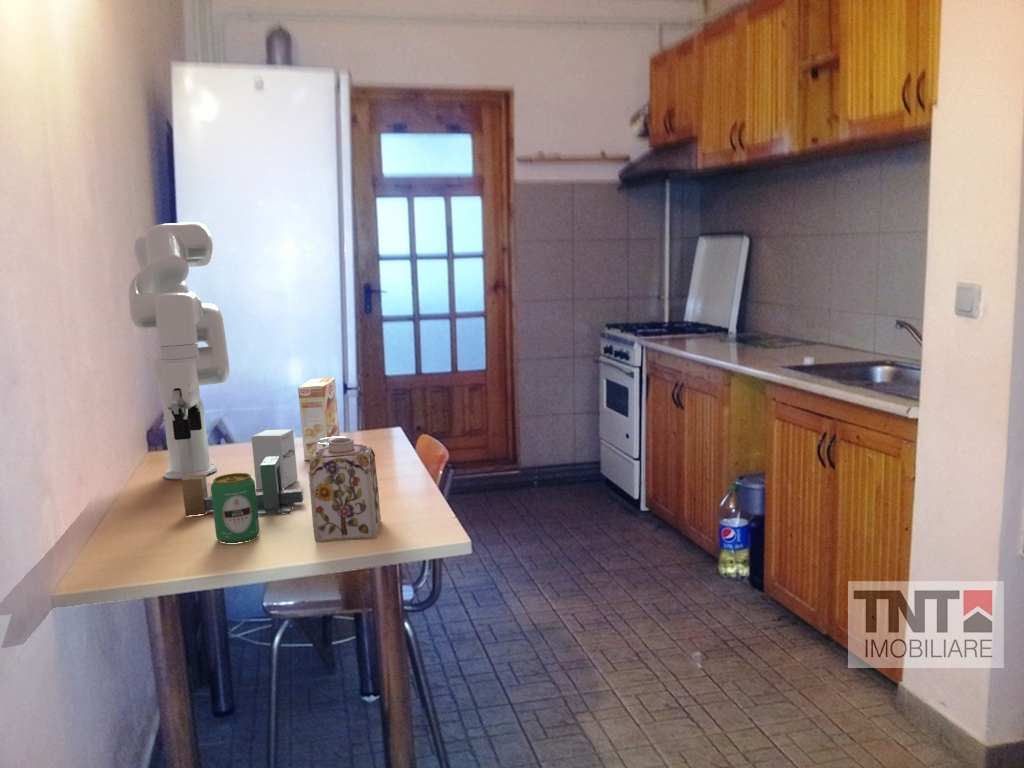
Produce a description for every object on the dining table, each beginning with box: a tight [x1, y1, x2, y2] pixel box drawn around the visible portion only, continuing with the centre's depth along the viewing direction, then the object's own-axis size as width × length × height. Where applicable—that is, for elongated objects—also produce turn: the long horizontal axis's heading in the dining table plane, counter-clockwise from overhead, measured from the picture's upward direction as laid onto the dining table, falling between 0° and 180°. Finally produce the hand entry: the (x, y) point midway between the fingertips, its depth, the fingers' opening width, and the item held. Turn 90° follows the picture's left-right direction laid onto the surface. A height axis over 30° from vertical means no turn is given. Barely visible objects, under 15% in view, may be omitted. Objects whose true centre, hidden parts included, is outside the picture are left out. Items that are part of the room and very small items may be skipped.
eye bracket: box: [257, 456, 295, 516], centre depth 190 cm, size 12×8×10 cm, turn 7°
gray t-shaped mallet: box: [180, 474, 304, 517], centre depth 189 cm, size 4×24×8 cm, turn 97°
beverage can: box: [210, 472, 261, 543], centre depth 169 cm, size 8×8×12 cm
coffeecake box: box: [297, 377, 341, 461], centre depth 238 cm, size 15×7×20 cm, turn 179°
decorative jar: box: [307, 437, 382, 543], centre depth 169 cm, size 12×12×18 cm
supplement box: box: [251, 429, 298, 489], centre depth 208 cm, size 7×7×13 cm
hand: (188, 434), depth 186 cm, fingers open, 9 cm apart
